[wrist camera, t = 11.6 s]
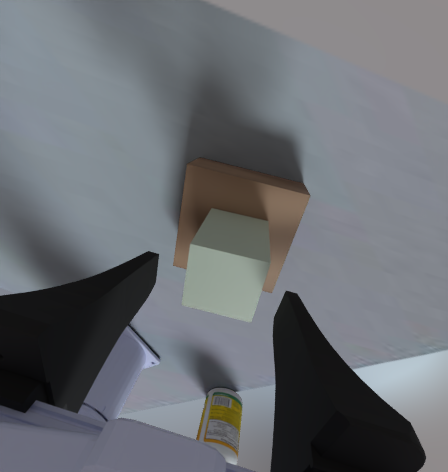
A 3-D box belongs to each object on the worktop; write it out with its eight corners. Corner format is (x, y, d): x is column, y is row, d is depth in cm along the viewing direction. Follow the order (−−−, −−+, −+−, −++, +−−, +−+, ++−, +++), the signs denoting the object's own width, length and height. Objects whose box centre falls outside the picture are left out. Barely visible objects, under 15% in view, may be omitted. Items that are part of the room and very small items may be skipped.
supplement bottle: (226, 381, 33) (211, 473, 24) (250, 403, 34) (244, 498, 26) (198, 392, 35) (176, 480, 26) (222, 412, 36) (209, 503, 28)
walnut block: (271, 268, 24) (271, 293, 21) (186, 244, 25) (173, 265, 21) (302, 182, 20) (310, 195, 17) (201, 156, 21) (187, 163, 17)
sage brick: (254, 268, 20) (251, 322, 15) (203, 256, 20) (181, 305, 15) (268, 221, 18) (270, 263, 13) (211, 208, 18) (190, 243, 13)
